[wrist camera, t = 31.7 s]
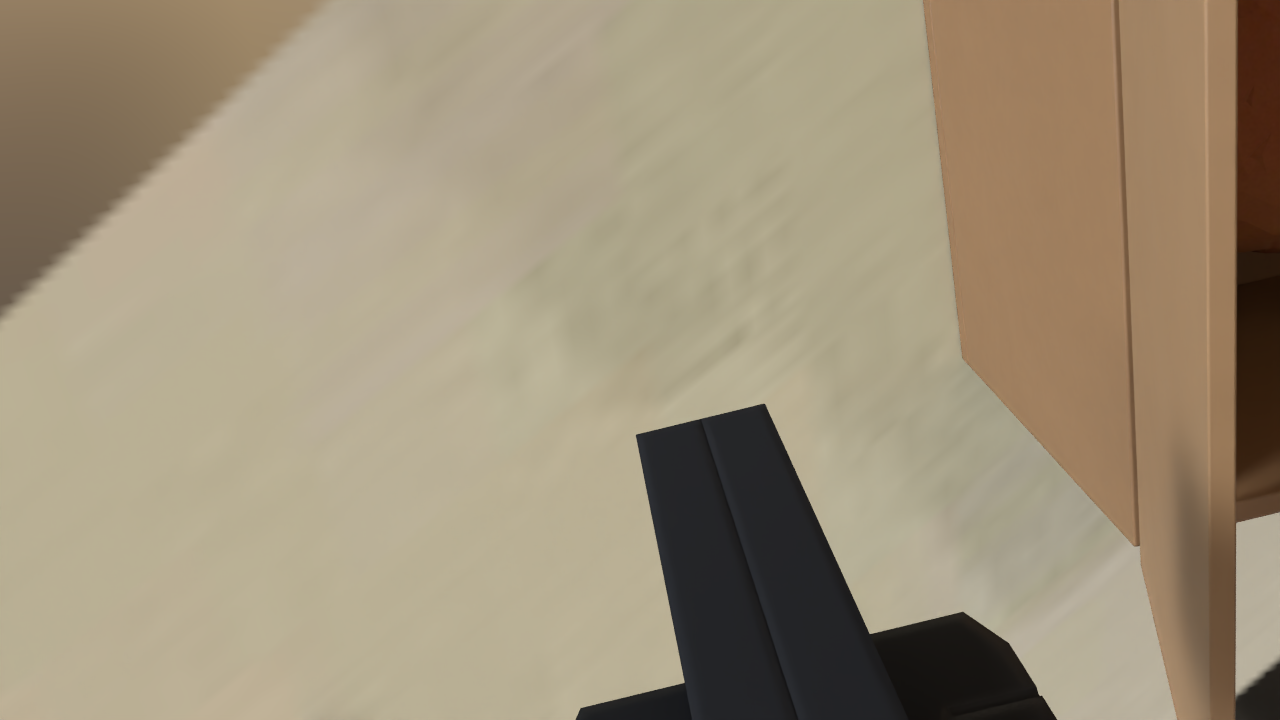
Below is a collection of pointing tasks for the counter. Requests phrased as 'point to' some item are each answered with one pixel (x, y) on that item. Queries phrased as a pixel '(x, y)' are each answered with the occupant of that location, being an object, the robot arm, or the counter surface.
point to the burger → (1258, 127)
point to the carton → (1069, 244)
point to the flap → (1185, 331)
